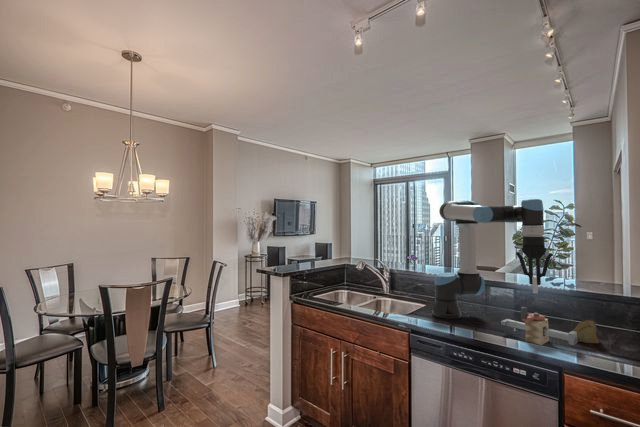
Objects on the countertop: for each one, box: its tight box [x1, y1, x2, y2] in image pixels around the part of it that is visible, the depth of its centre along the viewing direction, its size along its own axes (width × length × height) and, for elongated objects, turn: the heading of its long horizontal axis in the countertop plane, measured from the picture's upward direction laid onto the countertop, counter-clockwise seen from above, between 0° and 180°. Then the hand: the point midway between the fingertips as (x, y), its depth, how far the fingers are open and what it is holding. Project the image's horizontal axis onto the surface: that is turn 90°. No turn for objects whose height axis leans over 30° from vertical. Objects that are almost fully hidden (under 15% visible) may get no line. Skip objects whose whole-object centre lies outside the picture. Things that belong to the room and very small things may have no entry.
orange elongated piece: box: [520, 306, 546, 322], centre depth 136 cm, size 12×6×6 cm, turn 113°
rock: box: [571, 319, 600, 344], centre depth 137 cm, size 11×9×10 cm
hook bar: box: [500, 318, 578, 346], centre depth 137 cm, size 27×6×4 cm, turn 35°
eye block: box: [524, 318, 550, 346], centre depth 137 cm, size 6×8×10 cm
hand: (535, 292), depth 130 cm, fingers closed
